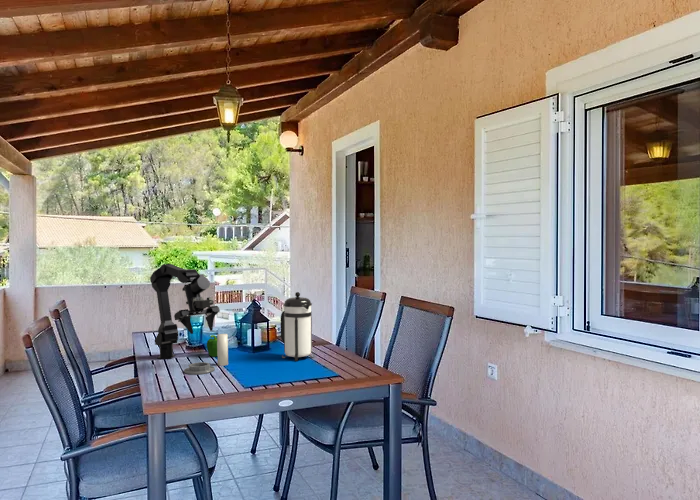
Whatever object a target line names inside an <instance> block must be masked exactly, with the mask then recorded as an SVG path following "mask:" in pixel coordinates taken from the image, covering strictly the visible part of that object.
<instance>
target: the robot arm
mask: <svg viewBox="0 0 700 500" xmlns="http://www.w3.org/2000/svg"><path fill="white" fill-rule="evenodd" d="M173 277H175V278H177V280H178V281H179V282H180V283H181V284H184V286H183V287H182V292H185V297H186V302H185V303H186V305H188V308H189V309H188V308H187V309H179V310H178V311H177V312H175V313H174V315H173V318H174V321H178V323H179V322H180V323H181V325H183V326H184V328H185V329H186V330H187V331H188V332H189V333H190V335H193V334H194V329H193V326H192V322H191V318H192V316H199V315H200V316H201V315H205V320H206V323H207V326H208V328H209V331H210V332H212V331H213V328H214V322H215V321H214V319H215V317H216V315H218V314H219V313H220V312H221V310H220V307H219V306H217V305H214V299H213V297H212V296H211V297H210V296H209V297H206V299H204V297H203V296H201V294H202V293H203V292H204V291H206V290H207V289H209V288H210V286H211V281H210V280H209V279H208V278H207V277H206V276H205V275H204V273H203V274H200V273H199V272H198V270H196V269H195V268H194V269H193V268H190V269H189V268H188V269H184V268H182V267H180V266H178V265H174V264H171V263H163V264H161V265H160V267H158V268H157V269H155V270H154V271H153V272H152V274H151V275H150V277H149V280H150V283H151V287H152V289H153V291H154V292H156V298H157V305H158V311H159V320H160V324H159V327H158V329H157V332H158V334H157V335H156V337H155V339H154V345H156V346H159V356H157V359H158V360H159V359H160V360H161V359H164V360H165V359H167V360H168V359H173V358H174V357H176V354H174V344H177V343H178V341H179V331H178V325H177V324H176V323H174V322H173V320H172V312H171V305H170V298H169V297H170V296H169V288H170V286H171V281H172V279H173ZM213 305H214V306H213Z"/></svg>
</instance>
